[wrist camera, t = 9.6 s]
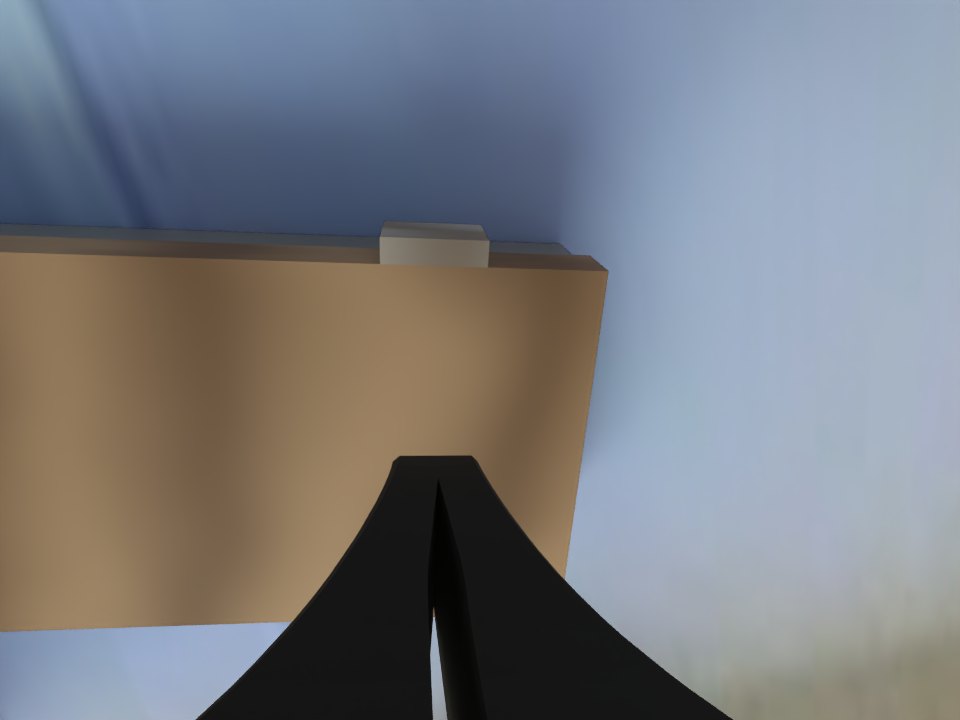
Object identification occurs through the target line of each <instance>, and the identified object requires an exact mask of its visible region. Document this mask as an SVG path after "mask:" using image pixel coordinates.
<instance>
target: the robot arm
mask: <svg viewBox="0 0 960 720" xmlns="http://www.w3.org/2000/svg"><path fill="white" fill-rule="evenodd" d="M433 610H434V613H435V622H436V630H437V638H438V647H439V655H440V663H441V671H442V679H443V687H444V695H445V703H446V711H447V719H448V720H733V719H731V718H730V717H728V716H727V715H726V714H724V713H723V712H721V711H720V710H718V709H717V708H716V707H714V706H713V705H711V704H710V703H709V702H707V701H706V700H704V699H703V698H701V697H700V696H699V695H697V694H696V693H694V692H693V691H691V690H690V689H689V688H687V687H686V686H685V685H683V684H682V683H681V682H679V681H678V680H677V679H675V678H674V677H673V676H672V675H670V674H669V673H668V672H666V671H665V670H664V669H663V668H661V667H660V666H659V665H658V664H657V663H655V662H654V661H653V660H652V659H650V658H649V657H648V656H647V655H645V654H644V653H643V652H642V651H641V650H639V649H638V648H637V647H636V646H634V645H633V644H632V643H631V642H629V641H628V640H627V639H626V638H624V637H623V636H622V635H621V634H620V633H619V632H618V631H616V630H615V629H614V628H613V627H612V626H611V625H610V624H609V623H608V622H607V621H605V620H604V619H603V618H602V617H601V616H600V615H599V614H598V613H597V612H596V611H595V610H594V609H593V608H592V607H591V606H590V605H589V604H588V603H587V602H586V601H585V600H584V599H583V598H582V597H581V596H580V595H579V594H578V593H577V592H576V591H575V590H574V589H573V588H572V587H571V586H570V585H569V584H568V583H567V582H566V581H565V580H564V579H563V577H562V576H561V575H560V574H559V573H558V572H557V571H556V570H555V569H554V567H553V566H552V565H551V564H550V563H549V562H548V560H547V559H546V558H545V557H544V556H543V555H542V553H541V552H540V551H539V550H538V549H537V547H536V546H535V545H534V544H533V542H532V541H531V540H530V539H529V538H528V536H527V535H526V534H525V532H524V531H523V530H522V528H521V527H520V526H519V524H518V523H517V522H516V520H515V519H514V518H513V516H512V515H511V514H510V512H509V511H508V509H507V508H506V507H505V505H504V504H503V502H502V501H501V499H500V498H499V496H498V495H497V493H496V492H495V490H494V489H493V487H492V486H491V484H490V482H489V481H488V479H487V477H486V476H485V474H484V472H483V471H482V469H481V467H480V465H479V463H478V461H477V460H476V459H475V458H474V457H473V456H472V455H450V456H399V457H398V458H396V459H395V460H394V461H393V462H392V466H391V470H390V472H389V475H388V478H387V480H386V482H385V484H384V487H383V489H382V491H381V493H380V495H379V497H378V499H377V501H376V503H375V505H374V506H373V508H372V510H371V511H370V513H369V515H368V517H367V518H366V520H365V522H364V524H363V525H362V527H361V529H360V530H359V532H358V534H357V535H356V537H355V538H354V540H353V542H352V543H351V544H350V546H349V547H348V549H347V550H346V552H345V553H344V555H343V556H342V558H341V559H340V561H339V562H338V563H337V565H336V566H335V568H334V569H333V571H332V572H331V574H330V575H329V576H328V578H327V579H326V580H325V582H324V583H323V584H322V586H321V587H320V588H319V590H318V591H317V592H316V593H315V595H314V596H313V597H312V598H311V600H310V601H309V602H308V603H307V605H306V606H305V607H304V608H303V609H302V611H301V612H300V613H299V614H298V615H297V617H296V618H295V619H294V620H293V621H292V623H291V624H290V625H289V626H288V627H287V628H286V629H285V631H284V632H283V633H282V634H281V635H280V636H279V637H278V638H277V639H276V640H275V641H274V643H273V644H272V645H271V646H270V647H269V648H268V649H267V650H266V651H265V652H264V653H263V655H262V656H261V657H260V658H259V659H258V660H257V661H256V662H255V663H254V664H253V665H252V666H251V667H250V668H249V669H248V670H247V671H246V672H245V673H244V674H243V675H242V676H241V677H240V678H239V679H238V680H237V681H236V682H235V683H234V684H233V685H232V686H231V687H230V688H229V689H228V690H227V691H226V692H225V693H224V694H223V695H222V696H221V697H220V698H219V699H217V700H216V701H215V702H214V703H213V704H212V705H211V706H210V707H209V708H208V709H207V710H206V711H205V712H203V713H202V714H201V715H200V716H199V717H198V718H197V719H196V720H433V710H432V689H431V664H430V650H431V637H432V623H433Z"/></svg>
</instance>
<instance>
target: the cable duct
mask: <svg viewBox="0 0 960 720" xmlns="http://www.w3.org/2000/svg"><path fill="white" fill-rule="evenodd" d="M0 235H5V236H34V237H63V238H92V239H121V240H150V241H180V242H209V243H238V244H267V245H296V246H325V247H354V248H380V237H359V236H331V235H304V234H277V233H249V232H222V231H194V230H167V229H139V228H112V227H85V226H57V225H30V224H2V223H0ZM489 252H499V253H528V254H557V255H571V254H570V253H569V252H568V251H567V250H566V249H565V248H564V247H563V246H562V245H561V244H551V243H523V242H496V241H490V242H489Z"/></svg>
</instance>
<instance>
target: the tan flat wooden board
mask: <svg viewBox="0 0 960 720" xmlns="http://www.w3.org/2000/svg"><path fill="white" fill-rule="evenodd" d="M489 242H490V241H489V239H488V237H487V235H486V234H485V232H484V230H483V228H482V226H481V225H473V224H448V223H423V222H397V221H384V224H383V228H382V231H381V234H380V248H354V247H325V246H296V245H267V244H238V243H209V242H180V241H150V240H121V239H92V238H63V237H34V236H5V235H0V632H7V631H36V630H65V629H94V628H123V627H152V626H181V625H210V624H239V623H268V622H292V621H293V620H294V619H295V618H296V617H297V615H298V614H299V613H300V612H301V611H302V609H303V608H304V607H305V606H306V605H307V603H308V602H309V601H310V600H311V598H312V597H313V596H314V595H315V593H316V592H317V591H318V590H319V588H320V587H321V586H322V584H323V583H324V582H325V580H326V579H327V578H328V576H329V575H330V574H331V572H332V571H333V569H334V568H335V566H336V565H337V563H338V562H339V561H340V559H341V558H342V556H343V555H344V553H345V552H346V550H347V549H348V547H349V546H350V544H351V543H352V542H353V540H354V538H355V537H356V535H357V534H358V532H359V530H360V529H361V527H362V525H363V524H364V522H365V520H366V518H367V517H368V515H369V513H370V511H371V510H372V508H373V506H374V505H375V503H376V501H377V499H378V497H379V495H380V493H381V491H382V489H383V487H384V484H385V482H386V480H387V478H388V475H389V472H390V470H391V466H392V462H393V461H394V460H395V459H396V458H398V457H399V456H450V455H472V456H473V457H474V458H475V459H476V460H477V461H478V463H479V465H480V467H481V469H482V471H483V472H484V474H485V476H486V477H487V479H488V481H489V482H490V484H491V486H492V487H493V489H494V490H495V492H496V493H497V495H498V496H499V498H500V499H501V501H502V502H503V504H504V505H505V507H506V508H507V509H508V511H509V512H510V514H511V515H512V516H513V518H514V519H515V520H516V522H517V523H518V524H519V526H520V527H521V528H522V530H523V531H524V532H525V534H526V535H527V536H528V538H529V539H530V540H531V541H532V542H533V544H534V545H535V546H536V547H537V549H538V550H539V551H540V552H541V553H542V555H543V556H544V557H545V558H546V559H547V560H548V562H549V563H550V564H551V565H552V566H553V567H554V569H555V570H556V571H557V572H558V573H559V574H560V575H561V576H562V577H563V579H565V572H566V565H567V558H568V551H569V544H570V537H571V530H572V523H573V516H574V509H575V502H576V495H577V488H578V481H579V474H580V467H581V460H582V453H583V446H584V439H585V432H586V425H587V418H588V411H589V404H590V397H591V390H592V383H593V376H594V369H595V362H596V355H597V348H598V341H599V334H600V327H601V320H602V313H603V306H604V299H605V292H606V285H607V278H608V270H606V269H605V268H604V267H603V266H602V265H600V264H599V263H598V262H597V261H596V260H594V259H593V258H592V257H591V256H586V255H557V254H528V253H499V252H489ZM433 617H435V613H434V610H433Z"/></svg>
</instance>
